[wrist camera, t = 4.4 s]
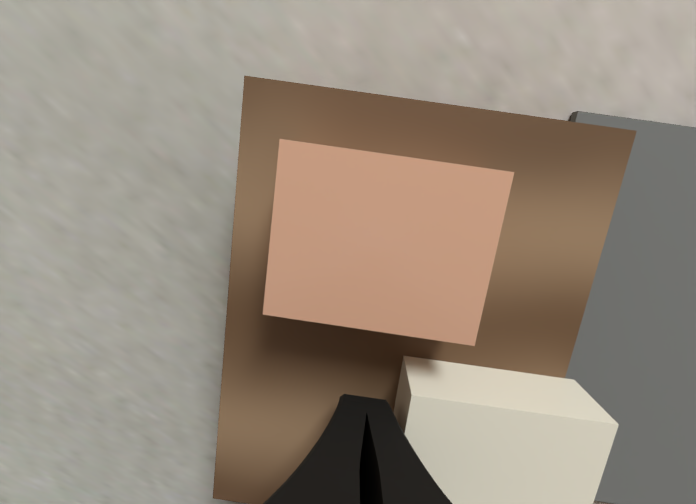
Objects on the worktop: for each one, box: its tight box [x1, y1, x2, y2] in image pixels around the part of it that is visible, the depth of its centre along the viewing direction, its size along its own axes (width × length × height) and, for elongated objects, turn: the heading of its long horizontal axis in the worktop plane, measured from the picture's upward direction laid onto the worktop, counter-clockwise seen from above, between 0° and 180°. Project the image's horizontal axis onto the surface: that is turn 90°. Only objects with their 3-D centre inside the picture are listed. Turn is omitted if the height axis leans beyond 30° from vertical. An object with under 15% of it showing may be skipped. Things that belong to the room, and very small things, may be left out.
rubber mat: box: [565, 111, 696, 504], centre depth 15 cm, size 15×11×1 cm
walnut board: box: [213, 76, 637, 504], centre depth 13 cm, size 13×10×4 cm
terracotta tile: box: [263, 139, 514, 346], centre depth 10 cm, size 4×5×2 cm
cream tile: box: [393, 356, 619, 504], centre depth 11 cm, size 4×5×2 cm
